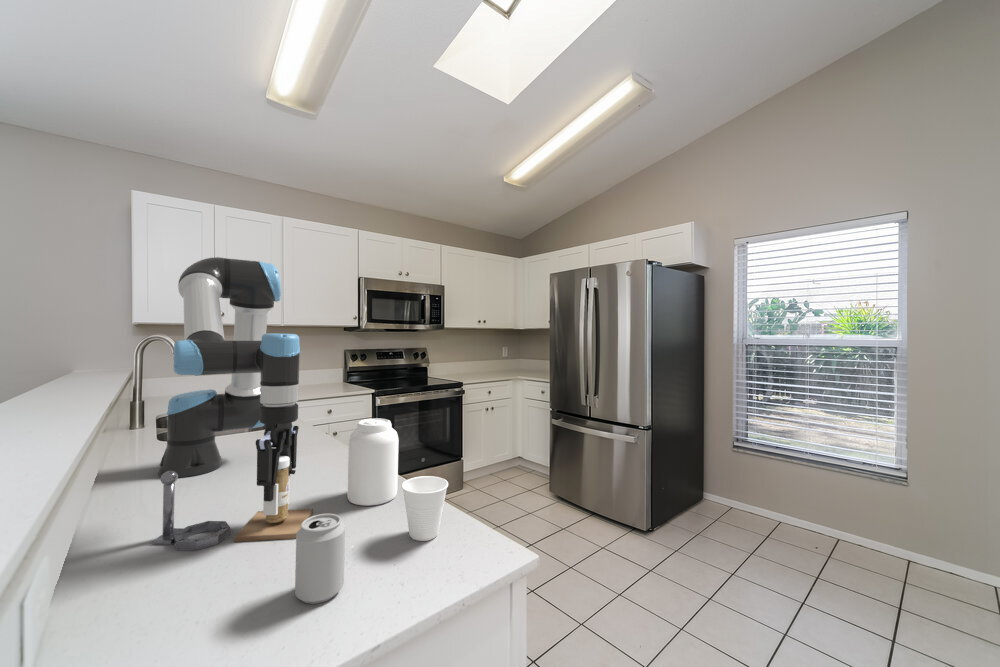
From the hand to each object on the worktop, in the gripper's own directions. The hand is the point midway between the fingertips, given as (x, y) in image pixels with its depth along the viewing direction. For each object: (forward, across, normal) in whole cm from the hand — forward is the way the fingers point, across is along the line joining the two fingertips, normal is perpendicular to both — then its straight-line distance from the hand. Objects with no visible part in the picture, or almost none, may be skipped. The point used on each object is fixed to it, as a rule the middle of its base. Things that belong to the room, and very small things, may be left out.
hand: (276, 508), depth 90 cm
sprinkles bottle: (+2, 0, 0) cm, 2 cm away
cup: (+4, +2, +33) cm, 33 cm away
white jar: (+4, -17, +16) cm, 24 cm away
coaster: (+4, 0, 0) cm, 4 cm away
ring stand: (+4, +6, -14) cm, 16 cm away
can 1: (+4, +22, +19) cm, 29 cm away
